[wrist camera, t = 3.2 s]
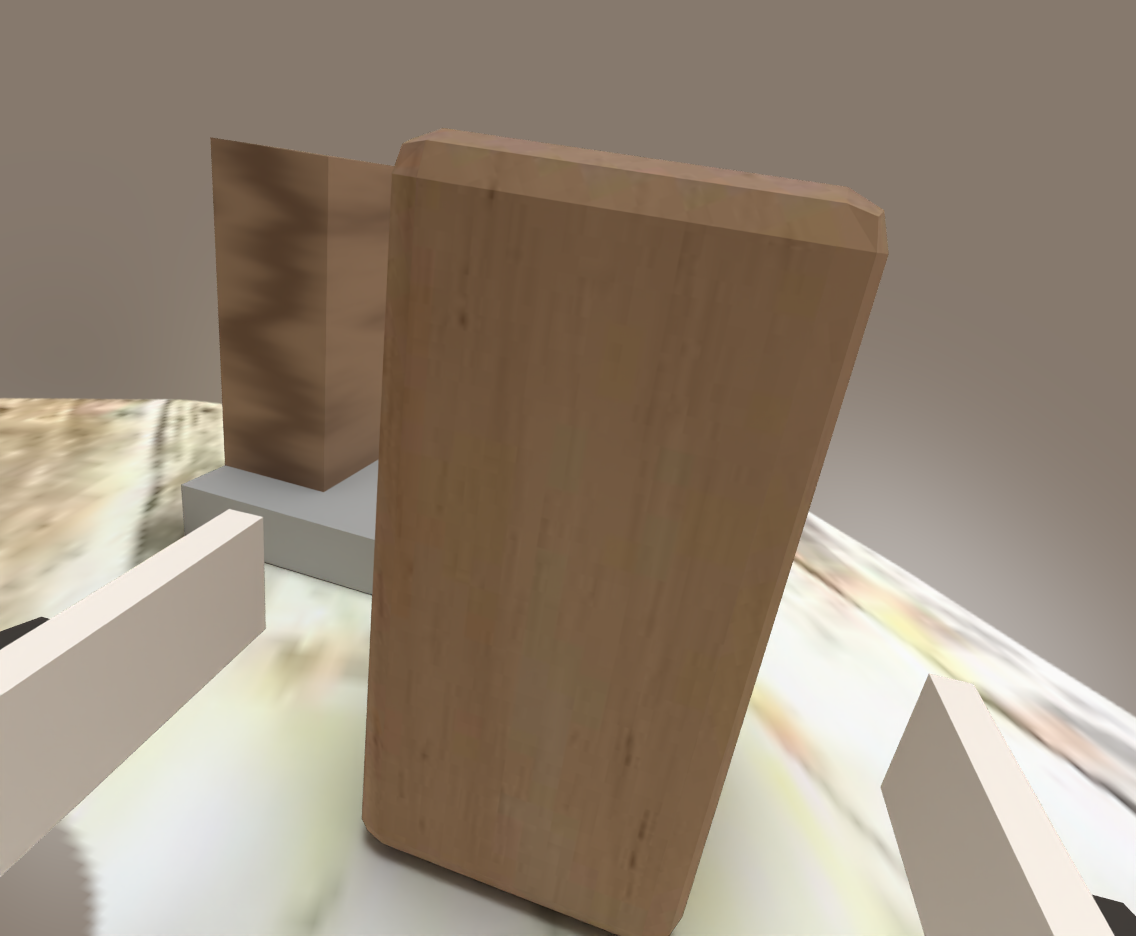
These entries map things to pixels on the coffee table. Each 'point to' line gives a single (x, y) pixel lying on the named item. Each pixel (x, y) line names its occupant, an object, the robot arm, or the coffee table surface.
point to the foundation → (297, 520)
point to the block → (591, 500)
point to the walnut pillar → (300, 309)
